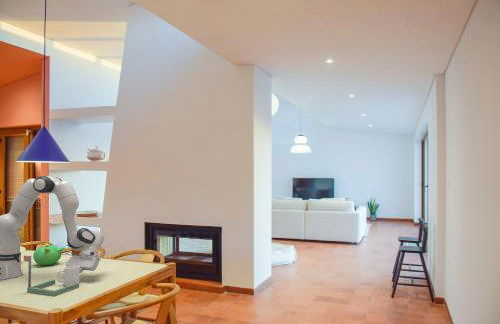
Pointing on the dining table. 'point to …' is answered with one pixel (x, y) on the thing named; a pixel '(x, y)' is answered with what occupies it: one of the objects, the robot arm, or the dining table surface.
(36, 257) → the green teapot
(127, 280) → the dining table surface
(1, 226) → the robot arm
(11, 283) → the dining table surface
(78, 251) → the reusable coffee cup
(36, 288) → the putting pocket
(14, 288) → the dining table surface
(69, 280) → the cup
